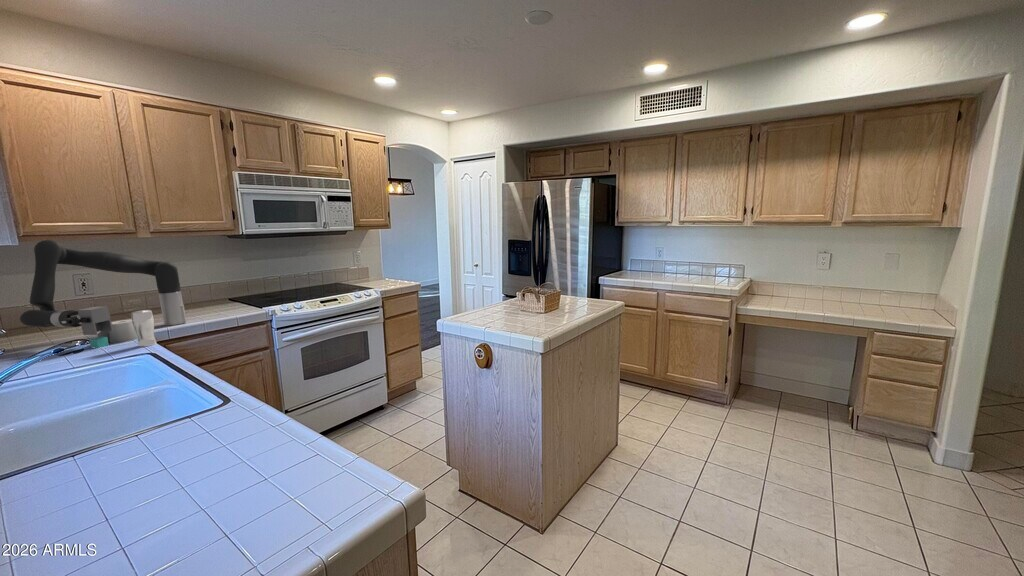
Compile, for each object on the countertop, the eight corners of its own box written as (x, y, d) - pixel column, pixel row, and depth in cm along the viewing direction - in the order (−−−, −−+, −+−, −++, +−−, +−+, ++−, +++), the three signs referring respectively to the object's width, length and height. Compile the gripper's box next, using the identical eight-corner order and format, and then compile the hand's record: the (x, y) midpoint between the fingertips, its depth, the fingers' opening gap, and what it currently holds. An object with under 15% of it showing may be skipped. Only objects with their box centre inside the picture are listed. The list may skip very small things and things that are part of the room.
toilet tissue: (98, 342, 188) (95, 324, 187) (137, 336, 197) (134, 318, 196) (98, 346, 182) (95, 327, 181) (139, 339, 191) (135, 321, 190)
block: (101, 345, 183) (99, 336, 182) (108, 345, 182) (107, 336, 182) (91, 348, 179) (89, 339, 178) (98, 348, 178) (96, 339, 178)
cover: (100, 330, 184) (95, 306, 182) (113, 330, 182) (107, 306, 181) (83, 334, 177) (77, 310, 175) (96, 334, 176) (90, 309, 174)
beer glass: (133, 346, 179) (126, 312, 176) (151, 342, 185) (145, 309, 183) (143, 347, 176) (136, 313, 174) (161, 343, 183) (155, 310, 180)
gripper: (45, 313, 173) (78, 313, 171) (85, 306, 187) (115, 306, 185) (50, 331, 175) (82, 331, 172) (89, 322, 189) (119, 322, 186)
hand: (99, 318), depth 178 cm, fingers closed on cover, 6 cm apart
